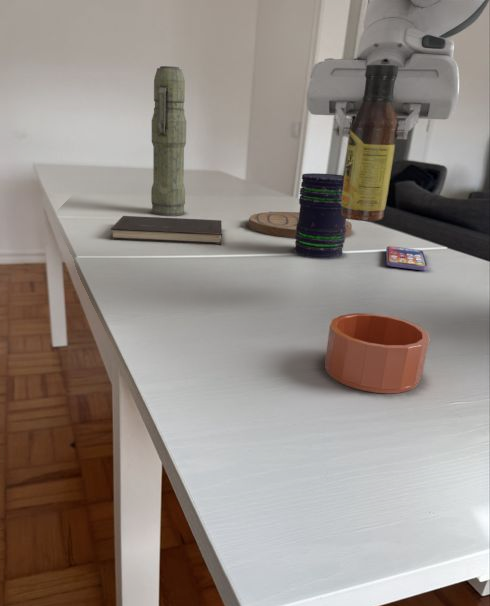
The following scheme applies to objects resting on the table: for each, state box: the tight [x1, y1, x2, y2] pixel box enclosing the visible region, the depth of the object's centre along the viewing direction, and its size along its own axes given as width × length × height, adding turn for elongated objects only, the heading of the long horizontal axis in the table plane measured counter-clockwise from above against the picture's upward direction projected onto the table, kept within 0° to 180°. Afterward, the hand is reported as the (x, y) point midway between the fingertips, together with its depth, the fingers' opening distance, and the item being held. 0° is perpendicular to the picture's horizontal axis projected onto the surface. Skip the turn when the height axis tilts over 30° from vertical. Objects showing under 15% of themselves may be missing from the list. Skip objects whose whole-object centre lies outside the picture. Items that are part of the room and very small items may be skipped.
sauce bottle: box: [341, 64, 399, 223], centre depth 75 cm, size 6×6×20 cm
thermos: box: [150, 65, 187, 217], centre depth 141 cm, size 9×12×35 cm
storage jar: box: [294, 172, 347, 260], centre depth 109 cm, size 10×10×15 cm
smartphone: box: [385, 245, 428, 271], centre depth 108 cm, size 1×7×15 cm
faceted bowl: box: [324, 312, 430, 394], centre depth 59 cm, size 10×10×5 cm
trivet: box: [248, 211, 353, 239], centre depth 135 cm, size 25×25×2 cm
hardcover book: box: [110, 215, 223, 245], centre depth 121 cm, size 16×23×2 cm
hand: (373, 134), depth 74 cm, fingers closed on sauce bottle, 6 cm apart
